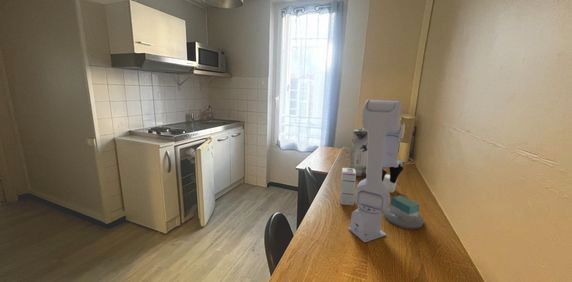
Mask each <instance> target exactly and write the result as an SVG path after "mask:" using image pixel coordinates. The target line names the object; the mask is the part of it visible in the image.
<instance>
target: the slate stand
mask: <svg viewBox="0 0 572 282" xmlns="http://www.w3.org/2000/svg"><path fill="white" fill-rule="evenodd" d="M383 212H384V211H383ZM383 217H384V218H385V219H386V220H387V222H389V224H392V225H394V226H396V227H398V228H402V229H406V230H419V229H421V228H423V226H424V221H425V220H424V218H423V216H422V215H421V214H419V213H418V218H417V219H416V220H413V221H410V222H407V221H405V220H403V219H402V218H400V217H398V216H397V215H395V214H393V213H392V212H390V206H388V209H387V210H386V211H385V212H384V213H383Z"/></svg>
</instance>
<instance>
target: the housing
mask: <svg viewBox="0 0 572 282" xmlns="http://www.w3.org/2000/svg"><path fill="white" fill-rule="evenodd" d="M389 205H390V206H389V207H390V212H392V213H393V214H395V215H397V216H398V217H400V218H402V219H403V220H405V221H407V222H410V221H413V220H416V219H417V218H418V214H419V212H420V211H419V210H420V204H419V203H417V202H415V201H413V200H412V199H409V198H408V197H407V198H406V197H405V196H403V195H401V194H400V195H395V196H392V197H391V196H390V202H389Z"/></svg>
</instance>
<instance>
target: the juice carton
mask: <svg viewBox="0 0 572 282" xmlns="http://www.w3.org/2000/svg"><path fill="white" fill-rule="evenodd" d="M352 132H353V133H352V135H351V136H352V137H351V147H350V159H349V160H350V162H349V168H353V169H355V171H356V177H364V176H366V175H365V174H366V170H367V149H368V133H367V130H366V129H364V128H363V127H362V128H353V131H352Z"/></svg>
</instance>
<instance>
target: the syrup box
mask: <svg viewBox="0 0 572 282" xmlns="http://www.w3.org/2000/svg"><path fill="white" fill-rule="evenodd" d="M356 182H357V176H356V171H355V169H353V168H350V167H342V168H341V177H340V194H339V201H340V205H346V206H355V194H356V186H357V185H356V184H357V183H356Z"/></svg>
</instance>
